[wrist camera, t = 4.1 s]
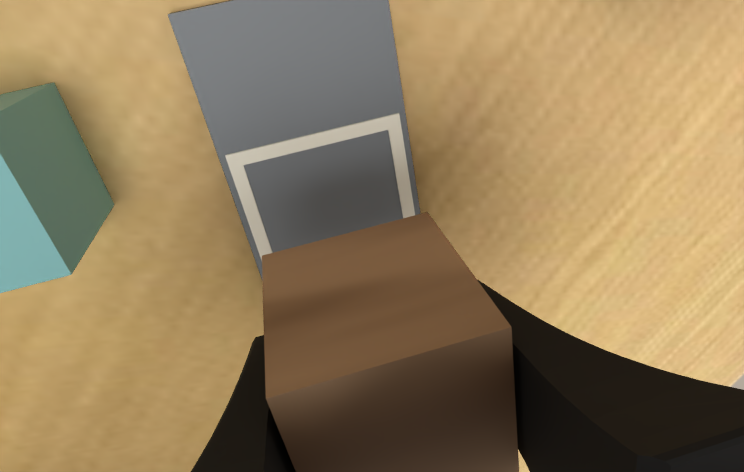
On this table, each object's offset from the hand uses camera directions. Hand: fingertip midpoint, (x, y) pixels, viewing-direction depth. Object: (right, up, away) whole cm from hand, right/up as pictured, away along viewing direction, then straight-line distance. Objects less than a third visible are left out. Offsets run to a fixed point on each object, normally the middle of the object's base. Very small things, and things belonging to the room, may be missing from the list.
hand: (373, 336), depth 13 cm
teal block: (-12, +5, +4) cm, 14 cm away
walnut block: (0, +1, +1) cm, 2 cm away
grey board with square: (-2, +4, +7) cm, 8 cm away
